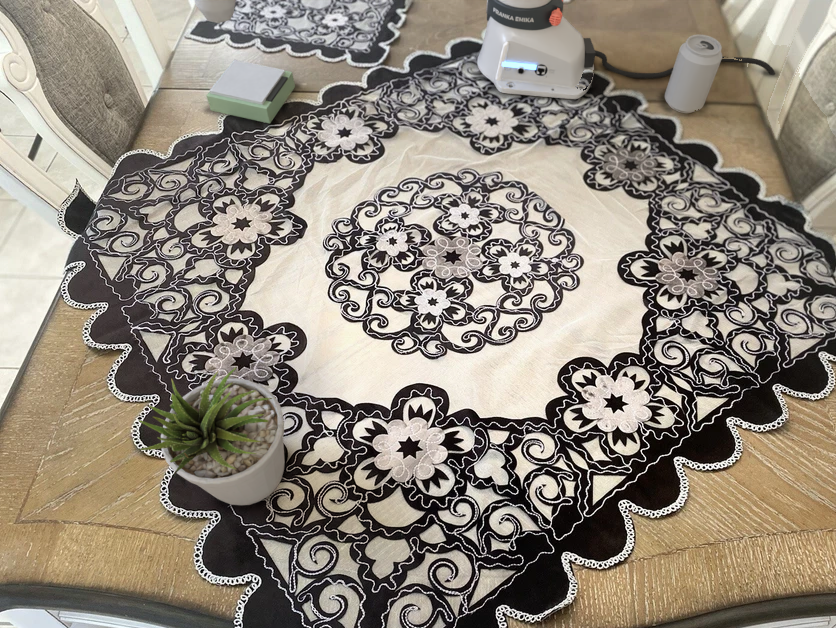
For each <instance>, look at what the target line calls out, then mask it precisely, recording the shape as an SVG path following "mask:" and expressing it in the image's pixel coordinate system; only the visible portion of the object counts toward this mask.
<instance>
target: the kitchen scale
mask: <svg viewBox="0 0 836 628" xmlns="http://www.w3.org/2000/svg"><path fill="white" fill-rule="evenodd" d="M295 88H296V85H295V79H294V73H293V72H292V71H289V70H285V69H282V68H277V67H272V66H267V65H263V64H258V63H253V62H249V61H246V60H245V61H244V60H241V59H240V60H239V59H235V58H234V59H233V61H232V62H231V63H230V64H229V66H228V67H226V69H225V70H224V72H223V73H222V74H221V76H220V77H219V78H218V79H217V80H216V82H214V84H213V86H211V88H210V89H209V90H208V93H207V94H206V99H207V102H208V105H209V109H210V111H212V112H215V113H221V114H225V115H229V116H234V117H238V118H244V119H247V120H252V121H257V122H261V123H265V124H271V123H272V122H273V120H274V118H275V117H276V116H277V114H278V113H279V111H280V110H281V108H282V107H283V106H284V104H285V102H286V101H287V99H288V98H289V97H290V95H291V93H292V92H293V91H294V89H295Z"/></svg>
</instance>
